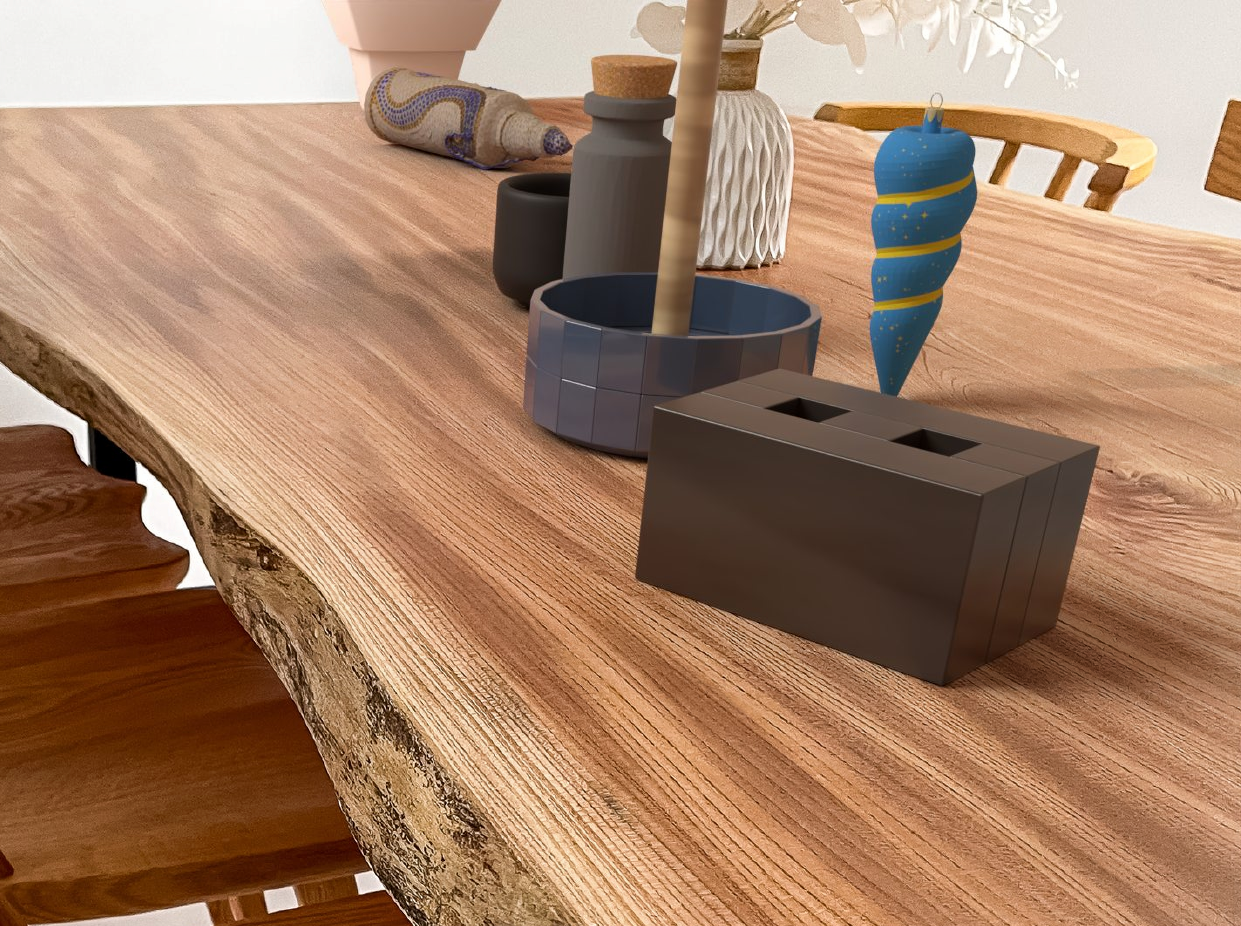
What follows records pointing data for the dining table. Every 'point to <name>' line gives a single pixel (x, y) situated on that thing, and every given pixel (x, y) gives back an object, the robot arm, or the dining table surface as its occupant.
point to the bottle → (621, 168)
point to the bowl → (408, 34)
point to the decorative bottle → (459, 120)
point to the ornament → (916, 236)
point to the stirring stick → (688, 164)
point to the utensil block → (863, 519)
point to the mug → (530, 233)
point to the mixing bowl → (651, 351)
